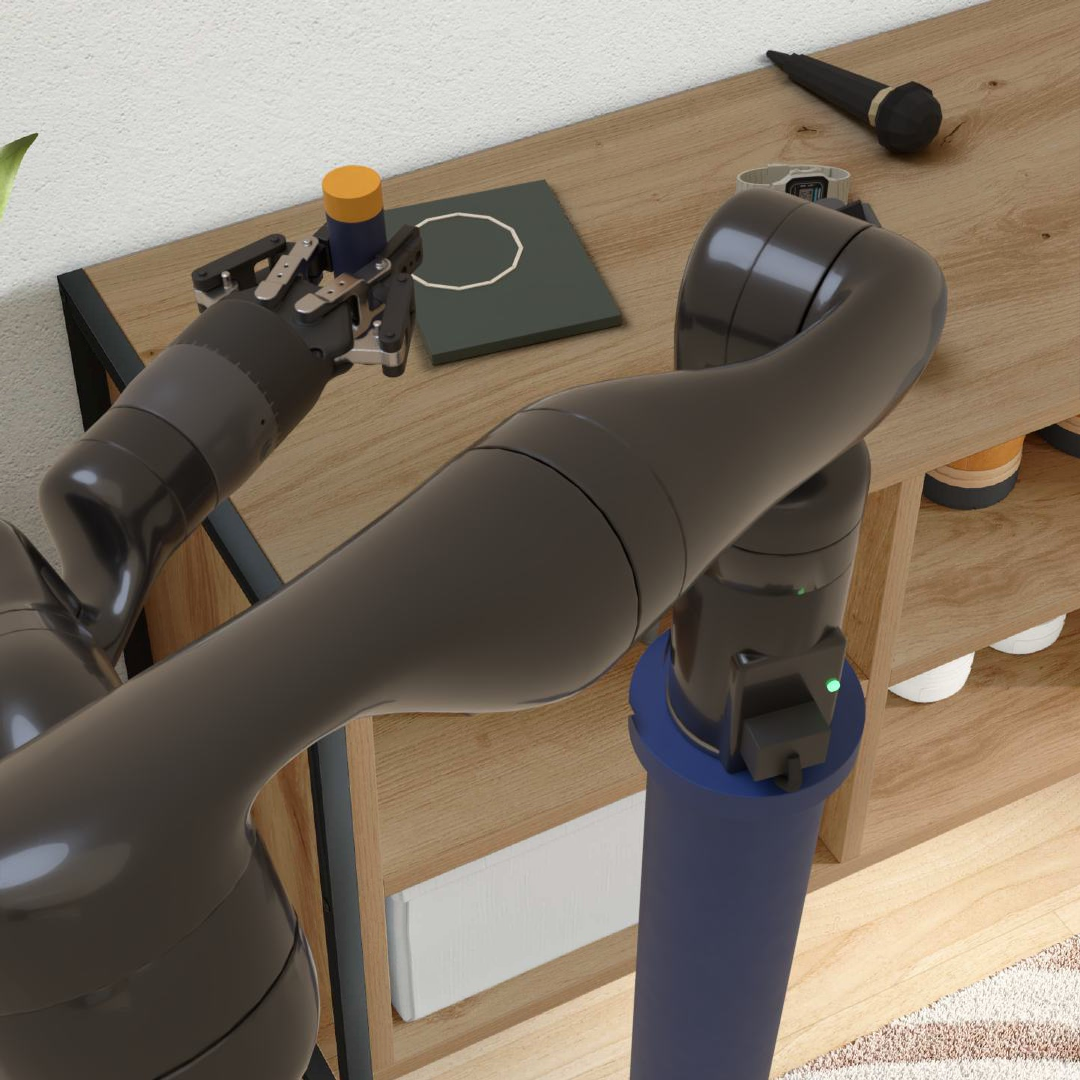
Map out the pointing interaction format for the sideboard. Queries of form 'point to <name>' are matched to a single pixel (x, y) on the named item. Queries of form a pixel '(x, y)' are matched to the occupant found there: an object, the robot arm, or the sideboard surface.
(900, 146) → the microphone
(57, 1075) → the robot arm
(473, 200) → the slate
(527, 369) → the sideboard surface
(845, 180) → the wristwatch
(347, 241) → the marker
